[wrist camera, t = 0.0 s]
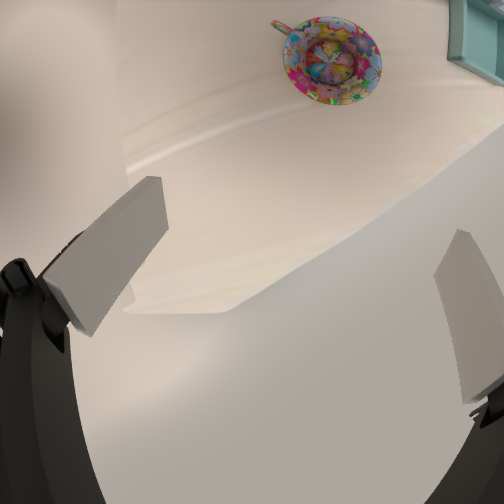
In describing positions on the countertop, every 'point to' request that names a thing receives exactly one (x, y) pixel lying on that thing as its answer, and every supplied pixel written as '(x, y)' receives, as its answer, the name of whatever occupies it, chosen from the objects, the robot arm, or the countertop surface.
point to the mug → (331, 60)
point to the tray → (477, 39)
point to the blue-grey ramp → (497, 5)
